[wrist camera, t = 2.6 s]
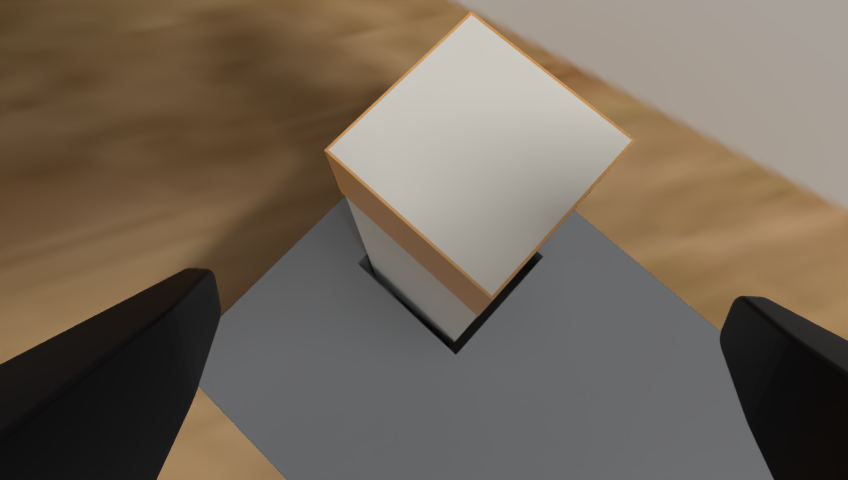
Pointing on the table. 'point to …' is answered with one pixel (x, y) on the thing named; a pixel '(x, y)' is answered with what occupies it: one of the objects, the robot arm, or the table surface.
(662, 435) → the socket block
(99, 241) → the table surface
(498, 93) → the plug
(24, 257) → the table surface
